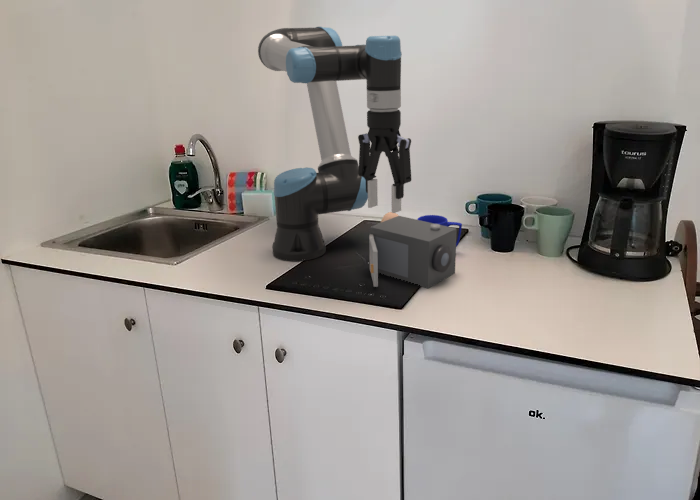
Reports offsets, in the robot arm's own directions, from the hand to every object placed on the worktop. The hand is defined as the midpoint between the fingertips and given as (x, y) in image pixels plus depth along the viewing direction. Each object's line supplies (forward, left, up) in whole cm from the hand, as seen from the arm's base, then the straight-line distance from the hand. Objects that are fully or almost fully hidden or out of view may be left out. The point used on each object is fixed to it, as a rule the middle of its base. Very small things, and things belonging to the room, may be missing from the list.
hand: (384, 208), depth 135 cm
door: (-3, -1, -18) cm, 19 cm away
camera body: (+2, +9, -19) cm, 21 cm away
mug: (0, +24, -19) cm, 31 cm away
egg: (-19, +27, -19) cm, 39 cm away
